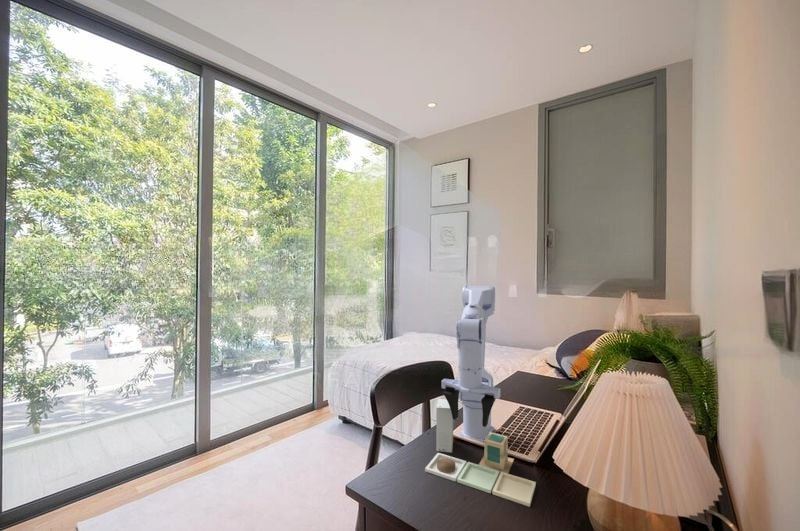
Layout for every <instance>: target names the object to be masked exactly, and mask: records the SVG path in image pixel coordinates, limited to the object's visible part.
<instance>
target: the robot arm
mask: <svg viewBox="0 0 800 531" xmlns="http://www.w3.org/2000/svg"><path fill="white" fill-rule="evenodd" d="M461 295H462V296H461V297H462V303H463V305H462V306H463V311H462V314H461V318H460V320H459V319H458V320H456V324H455V336H456V337H455V338H456V346H457V347H456V348H457V349H458V352H457V353H458V354H457V356H458V362H457V364H458V373H457V374H458V375H457V376H458V379H449V378H443V379H442V380H441V389H445V391H443V396H444V398H445V399H447V401H448V403H449V406H450V409H451V413H452V417H453V421H454V420H455V421H456V420H457V418H458V417H459V401H461V405H463V406H462V407H463V408H462V410H463V411H462V412H463V413H462V421H463V422H462V424H463V426H462V429H461V430H460V431H459V432H458V434H459V435H458V436H460V435H461V437H464V436H466V437H465V438H468V437H470V438H469V439H472V438H473V440H475V439H476V440H475V441H479V440H480V441H479V442H483V441H484V439H486V437H487V435H488V434H489V432H492V433H494V432H493V431H494V430H495V427H494V426H492V407H493V406H494V403H495V402H496V400H499V399H500V397H501V388H498V387H494V386H495V385H494V378H493V376H492V374H491V373H489V372H488V371H487V370H486V369H485V358H486V332H487V331H486V330H487V329H486V328H487V323H488V318H489V317H490V316H493V315H494V314H495V313H494V312H495V311H496V310H495V307H496V287H495V286H494V285H467V284H464V286H463V287H462V293H461Z"/></svg>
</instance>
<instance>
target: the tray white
mask: <svg viewBox="0 0 800 531" xmlns="http://www.w3.org/2000/svg"><path fill="white" fill-rule="evenodd" d="M442 458H448V459H451V460H453V461H454V462H455V471H454V472H452V473H443V472H440V471H439V470H438V469H437V461H438V460H440V459H442ZM467 463H468V462H467V460H464V459H460V458H457V457H453V456H451V455H447V454H444V453H441V452H437V453H436V454H435V455H434V456H433V458H432V459H431V460H430V461H429V463H428V464H427V465H426V466H425V468H424V472H426V473H429V474H431V475H434V476H437V477H439V478H443V479H446V480H448V481H449V480H450V481H452V482H457V478H458V477H459V475H460V474H461V472H462V470H463V469H464V467H465V466H466V464H467Z"/></svg>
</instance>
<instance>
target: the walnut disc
mask: <svg viewBox="0 0 800 531" xmlns="http://www.w3.org/2000/svg"><path fill="white" fill-rule="evenodd" d="M437 469H438V470H439V471H440V472H443V473H452V472H454V471H455V462H454V461H453V460H451V459H448V458H442V459H440V460H438V461H437Z"/></svg>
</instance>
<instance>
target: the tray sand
mask: <svg viewBox="0 0 800 531" xmlns="http://www.w3.org/2000/svg"><path fill="white" fill-rule="evenodd" d="M536 484H537V482H536V481H533V480H529V479H528V478H524V477H520V476H517V475H513V474H510V473H508V474H507V473H504V472H501V473H500V472H499V476H498V478H497V481H496V483H495V485H494V487H493V489H492V492H491V493H492V495H494V496H495V497H496V496H497V497H499V498H502V499H504V500H509V501H510V502H513V503H516V504H520V505H522V506H526V507H529V508H530V507H531V504H532V500H533V498H534V497H533V496H534V494H535V490H536Z"/></svg>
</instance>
